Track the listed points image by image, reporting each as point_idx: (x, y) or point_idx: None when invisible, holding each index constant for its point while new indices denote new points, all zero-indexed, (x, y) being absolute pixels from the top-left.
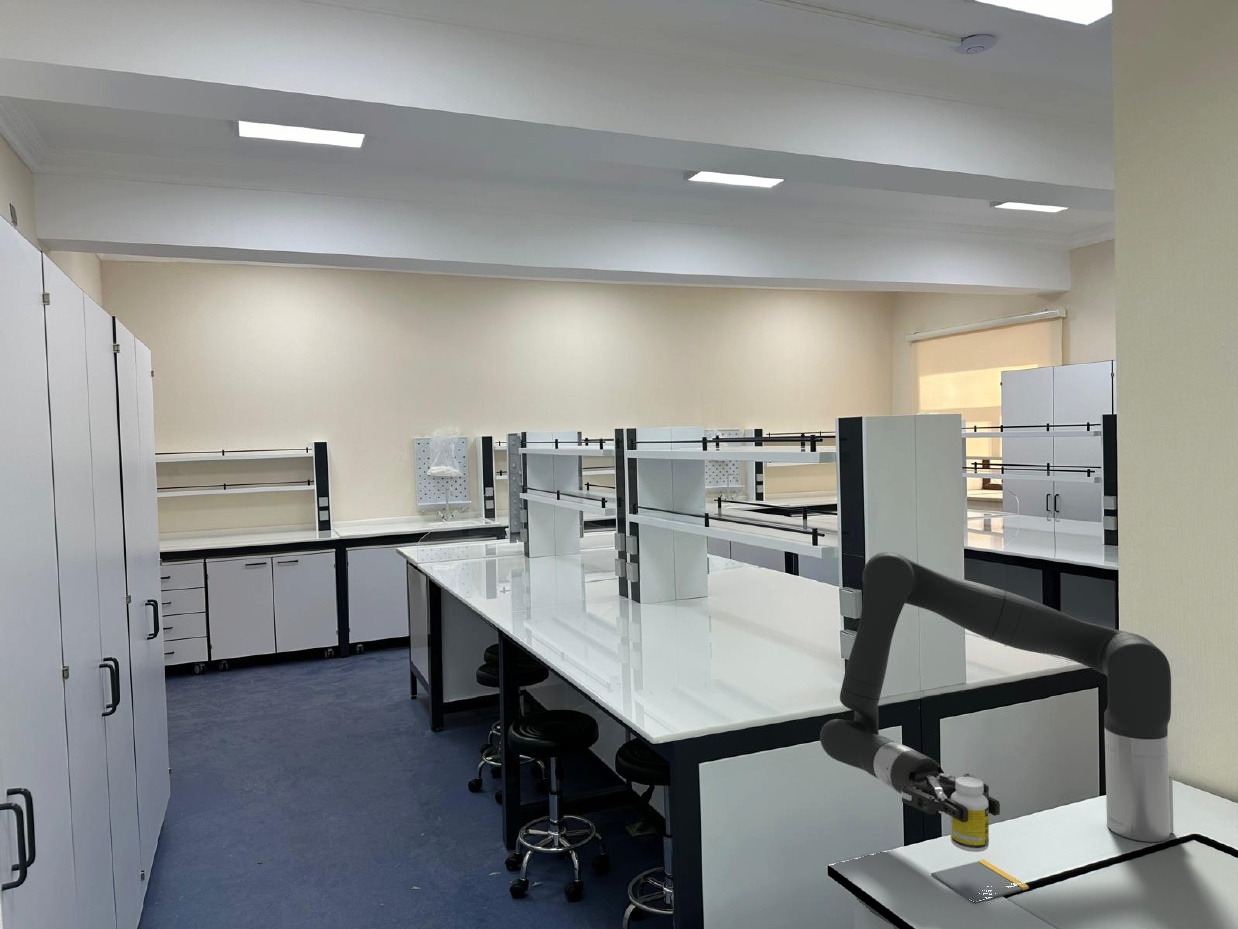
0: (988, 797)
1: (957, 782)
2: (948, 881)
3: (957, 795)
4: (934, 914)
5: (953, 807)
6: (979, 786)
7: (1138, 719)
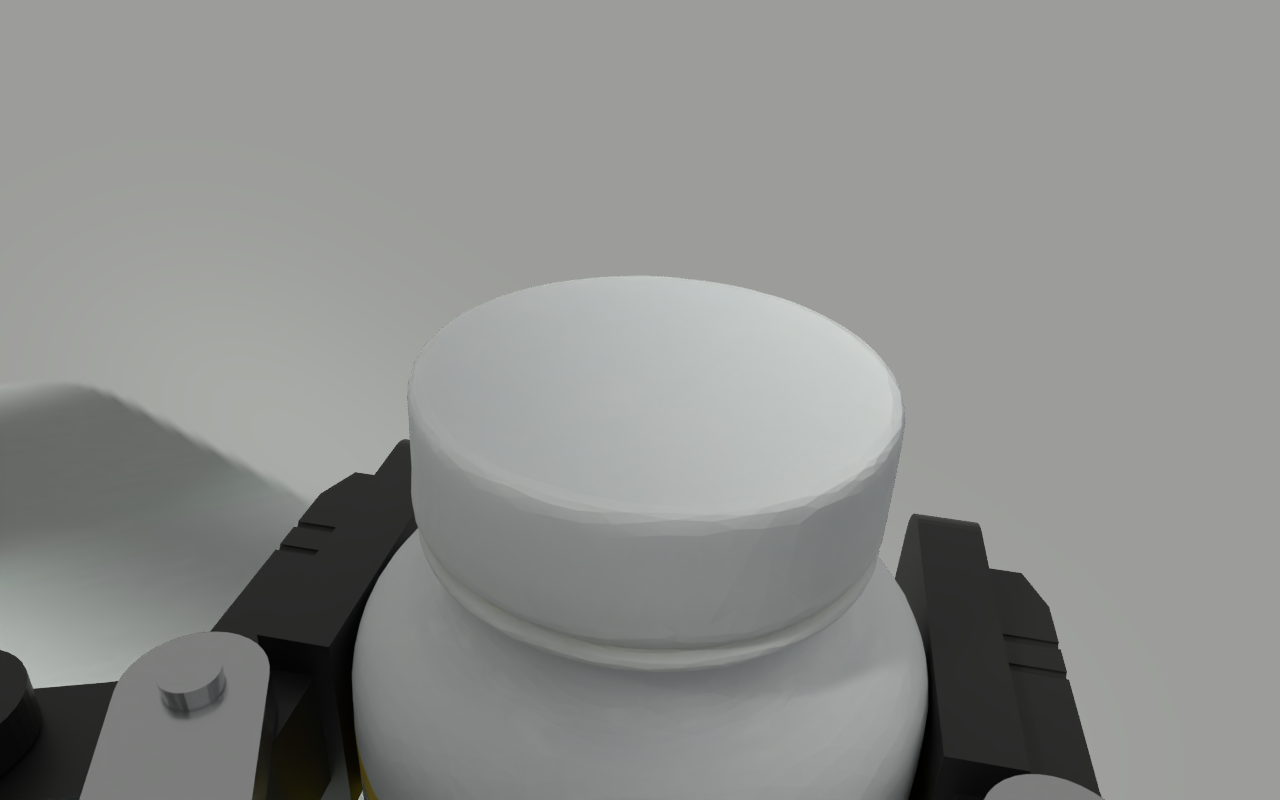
0: (388, 512)
1: (900, 424)
2: None
3: (854, 630)
4: None
5: (1038, 643)
6: (675, 279)
7: None
